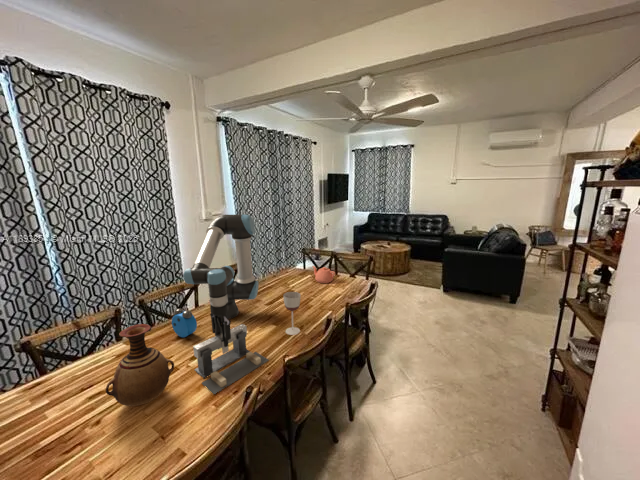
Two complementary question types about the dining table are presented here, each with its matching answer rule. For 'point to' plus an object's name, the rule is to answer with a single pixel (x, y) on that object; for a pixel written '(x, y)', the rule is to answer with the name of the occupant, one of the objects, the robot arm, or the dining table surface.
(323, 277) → the teapot
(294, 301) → the wineglass
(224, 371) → the mat
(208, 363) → the stand
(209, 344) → the rail
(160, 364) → the vase
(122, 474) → the dining table surface
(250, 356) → the rests
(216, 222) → the robot arm
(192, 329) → the alarm clock
